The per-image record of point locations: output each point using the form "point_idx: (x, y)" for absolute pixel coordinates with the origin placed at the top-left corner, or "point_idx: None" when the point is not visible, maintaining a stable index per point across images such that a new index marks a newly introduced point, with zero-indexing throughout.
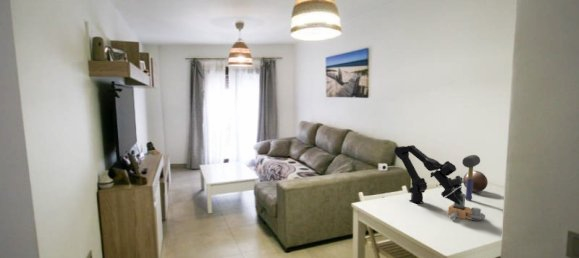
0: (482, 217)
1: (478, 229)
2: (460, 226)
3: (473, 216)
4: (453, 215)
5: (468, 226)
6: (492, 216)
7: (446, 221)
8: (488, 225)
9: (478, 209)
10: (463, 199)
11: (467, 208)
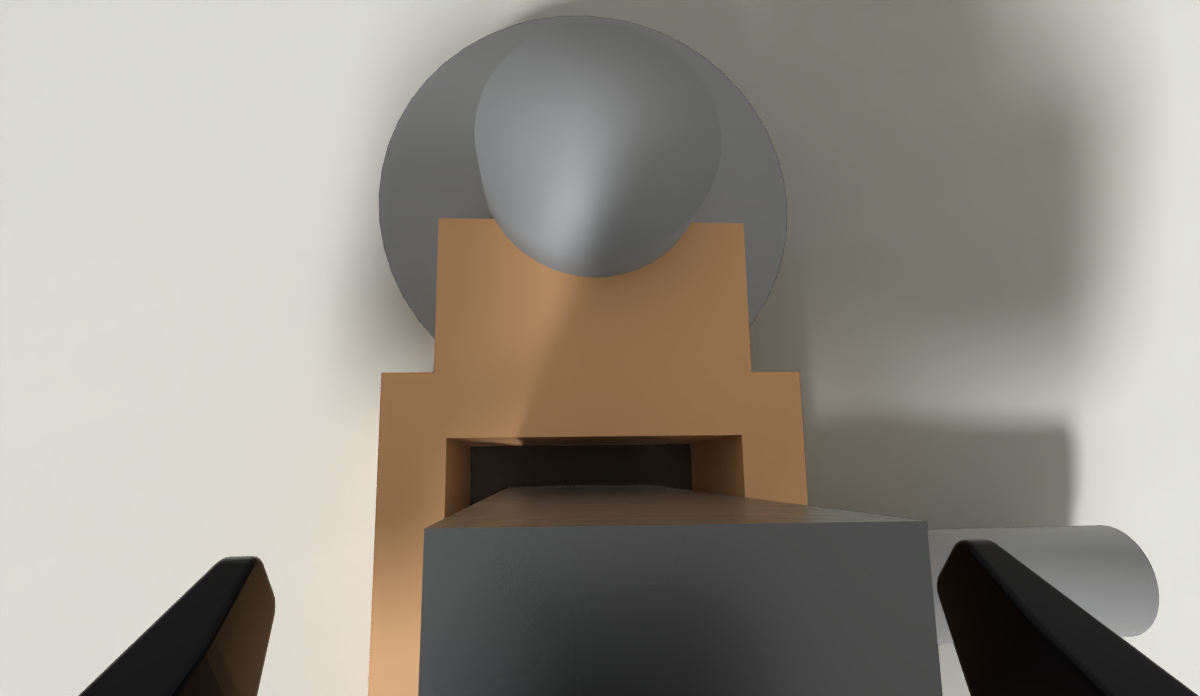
0: (686, 49)
1: (1041, 95)
2: (1167, 354)
3: (782, 204)
4: (1126, 565)
5: (1051, 249)
6: (144, 24)
7: (1158, 640)
8: (725, 5)
9: (603, 73)
10: (764, 505)
11: (511, 402)
